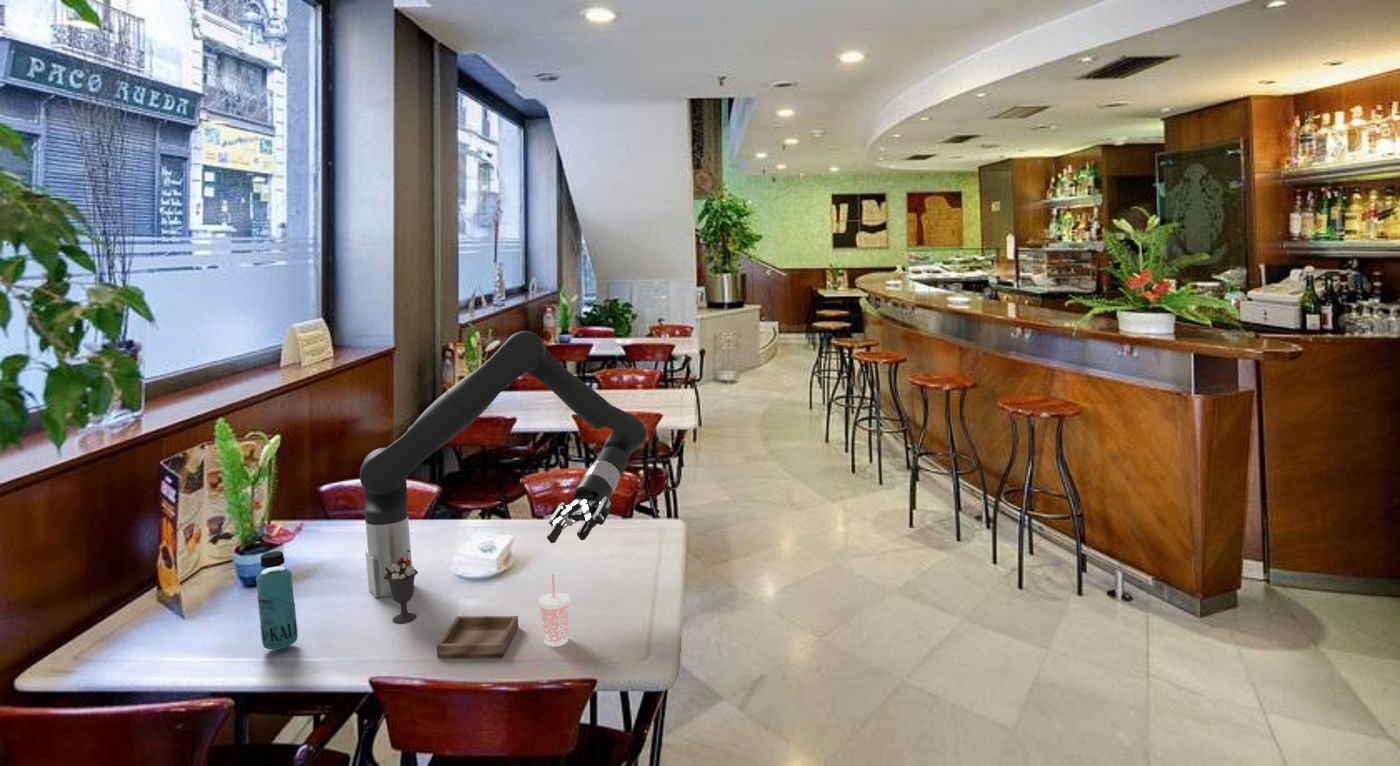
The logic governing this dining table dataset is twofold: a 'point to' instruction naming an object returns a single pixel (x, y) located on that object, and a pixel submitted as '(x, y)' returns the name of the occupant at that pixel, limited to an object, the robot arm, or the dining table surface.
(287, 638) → the beverage bottle
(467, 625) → the walnut tray
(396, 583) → the sundae
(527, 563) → the dining table surface
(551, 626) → the beverage cup
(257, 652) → the dining table surface
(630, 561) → the dining table surface
